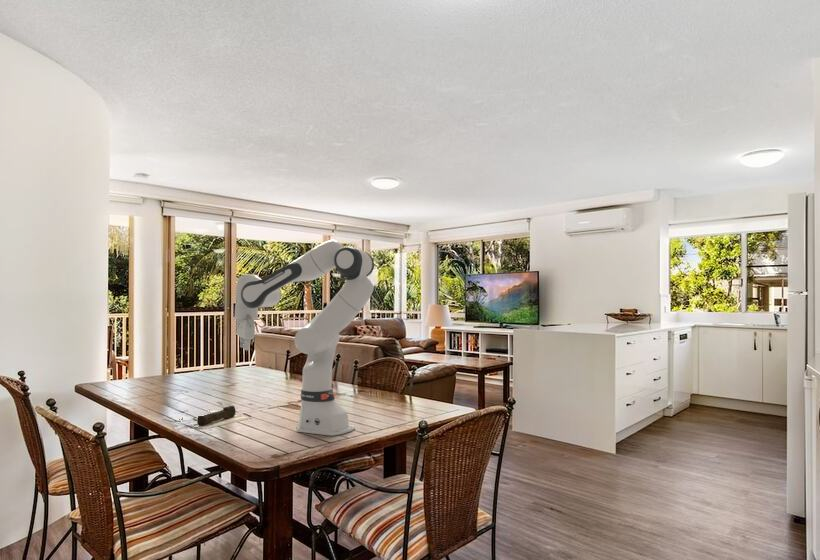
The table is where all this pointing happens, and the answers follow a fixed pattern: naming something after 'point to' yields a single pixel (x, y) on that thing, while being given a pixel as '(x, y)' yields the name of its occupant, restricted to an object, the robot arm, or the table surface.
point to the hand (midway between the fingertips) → (244, 348)
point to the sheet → (221, 420)
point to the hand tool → (216, 416)
